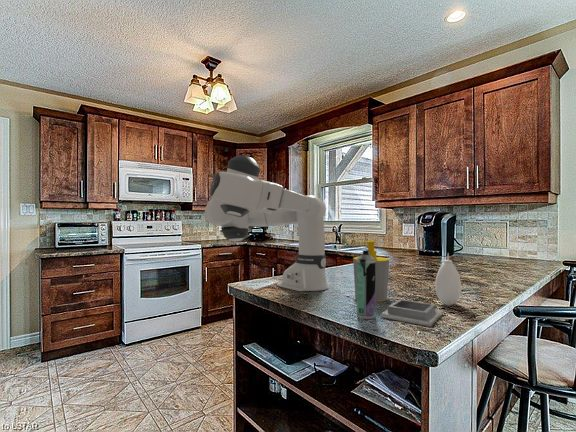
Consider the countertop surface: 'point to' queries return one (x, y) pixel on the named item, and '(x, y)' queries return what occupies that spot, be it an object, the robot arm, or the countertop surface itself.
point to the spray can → (366, 286)
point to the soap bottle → (376, 273)
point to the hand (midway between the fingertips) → (314, 209)
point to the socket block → (412, 312)
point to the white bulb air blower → (448, 283)
